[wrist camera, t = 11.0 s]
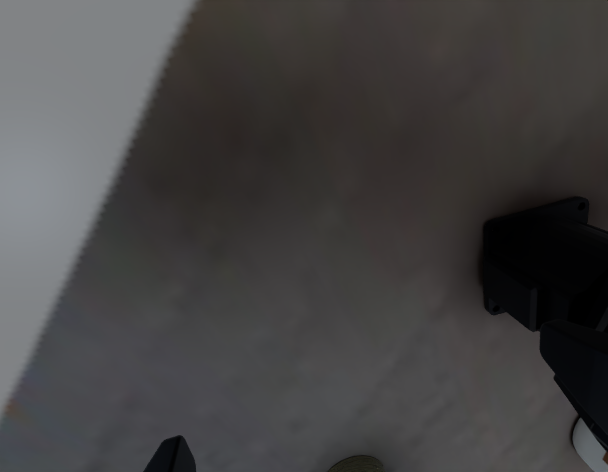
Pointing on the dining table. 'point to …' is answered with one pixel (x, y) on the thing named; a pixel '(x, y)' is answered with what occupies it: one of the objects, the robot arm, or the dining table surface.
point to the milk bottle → (589, 448)
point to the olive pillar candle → (358, 465)
